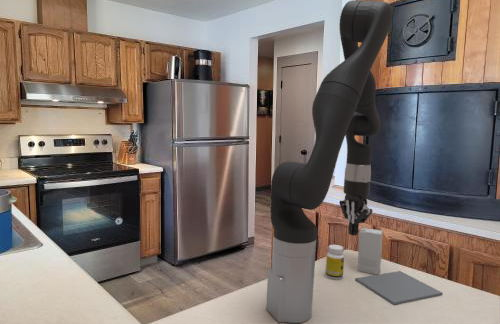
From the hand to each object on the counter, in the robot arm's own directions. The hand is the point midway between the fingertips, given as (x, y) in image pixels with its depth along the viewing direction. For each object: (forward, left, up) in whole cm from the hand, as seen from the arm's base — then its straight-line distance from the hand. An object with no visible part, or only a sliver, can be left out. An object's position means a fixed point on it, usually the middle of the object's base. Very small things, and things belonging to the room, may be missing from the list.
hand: (353, 234), depth 111 cm
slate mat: (0, -19, -8) cm, 20 cm away
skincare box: (0, -8, -9) cm, 12 cm away
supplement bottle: (-12, -8, -9) cm, 17 cm away
